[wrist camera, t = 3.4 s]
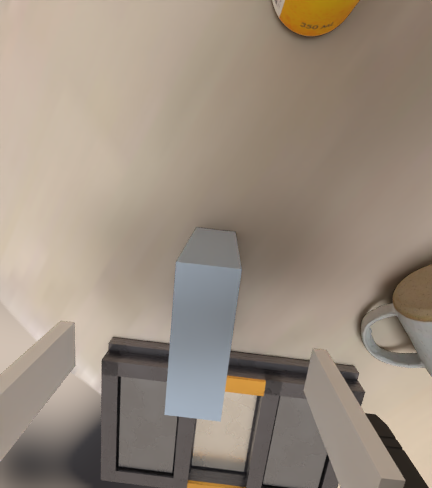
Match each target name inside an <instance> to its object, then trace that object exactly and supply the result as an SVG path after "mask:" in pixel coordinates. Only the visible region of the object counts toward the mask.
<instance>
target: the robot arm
mask: <svg viewBox="0 0 432 488" xmlns="http://www.w3.org/2000/svg"><path fill="white" fill-rule="evenodd" d="M74 367H75V322H67V321H60V322H59V323H58V324H57V325H55V326H54V327H53V328H52V329H51V330H50V331H49V332H48V333H46V334H45V335H44V336H43V337H42V338H41V339H40V340H38V341H37V342H36V343H35V344H34V345H33V346H32V347H31V348H29V349H28V350H27V351H26V352H25V353H24V354H23V355H22V356H20V357H19V358H18V359H17V360H16V361H15V362H14V363H13V364H12V365H10V366H9V367H8V368H7V369H6V370H5V371H4V372H3V373H1V374H0V461H1V460H2V459H3V457H4V456H5V455H6V454H7V452H8V451H9V450H10V448H11V447H12V446H13V445H14V443H15V442H16V441H17V440H18V438H19V437H20V436H21V435H22V433H23V432H24V431H25V429H26V428H27V427H28V426H29V424H30V423H31V422H32V420H33V419H34V418H35V417H36V415H37V414H38V413H39V412H40V410H41V409H42V408H43V406H44V405H45V404H46V403H47V401H48V400H49V399H50V397H51V396H52V395H53V394H54V392H55V391H56V390H57V388H58V387H59V386H60V385H61V383H62V382H63V381H64V380H65V378H66V377H67V376H68V374H69V373H70V372H71V371H72V369H73V368H74ZM303 391H304V393H305V396H306V398H307V401H308V404H309V406H310V409H311V412H312V414H313V417H314V419H315V422H316V425H317V427H318V430H319V433H320V435H321V438H322V440H323V443H324V446H325V448H326V451H327V454H328V456H329V459H330V461H331V464H332V467H333V469H334V472H335V475H336V477H337V480H338V482H339V485H340V488H429V487H428V486H427V484H426V483H425V481H424V480H423V478H422V477H421V475H420V474H419V472H418V471H417V469H416V468H415V466H414V465H413V463H412V462H411V460H410V459H409V457H408V456H407V454H406V453H405V451H404V450H402V447H401V445H400V444H399V442H398V441H397V440H396V439H395V436H394V435H393V433H392V432H391V430H390V429H389V427H388V426H387V425H386V424H385V423H384V422H383V421H382V420H381V419H380V418H379V417H378V416H377V415H376V414H367V413H364V411H363V409H362V408H361V406H360V404H359V403H358V401H357V399H356V398H355V396H354V394H353V393H352V391H351V390H350V388H349V386H348V385H347V383H346V381H345V380H344V378H343V376H342V375H341V373H340V371H339V370H338V368H337V366H336V365H335V363H334V361H333V360H332V358H331V356H330V355H329V353H328V351H327V350H322V349H313V350H312V354H311V359H310V363H309V368H308V372H307V377H306V381H305V386H304V390H303Z"/></svg>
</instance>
